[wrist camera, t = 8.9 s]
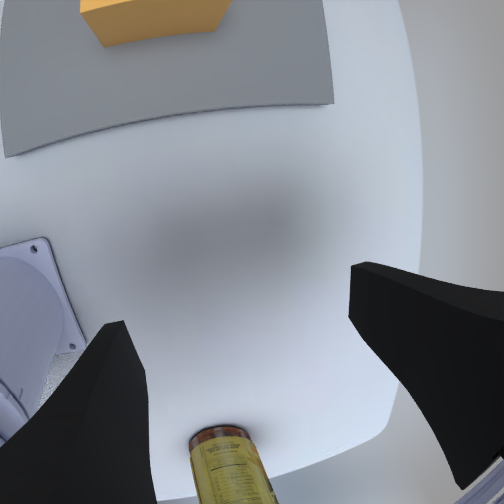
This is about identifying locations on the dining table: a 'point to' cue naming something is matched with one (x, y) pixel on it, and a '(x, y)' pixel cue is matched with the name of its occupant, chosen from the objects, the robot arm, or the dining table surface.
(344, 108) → the dining table surface
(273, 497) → the sauce bottle
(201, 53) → the post board
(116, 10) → the orange cube
